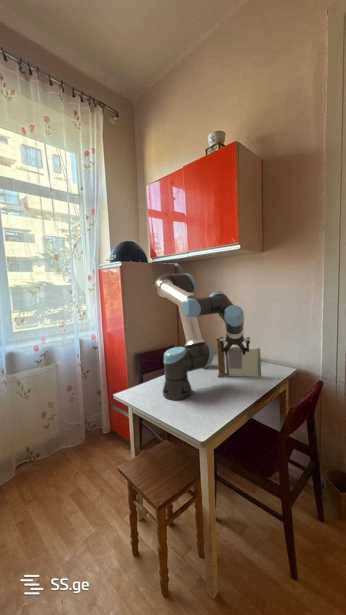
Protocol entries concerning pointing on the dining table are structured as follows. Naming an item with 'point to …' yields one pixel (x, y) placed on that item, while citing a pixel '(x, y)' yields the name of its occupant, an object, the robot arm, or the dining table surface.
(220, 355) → the door post
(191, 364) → the robot arm
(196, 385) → the dining table surface
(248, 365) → the door
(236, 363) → the dark grey upright block
